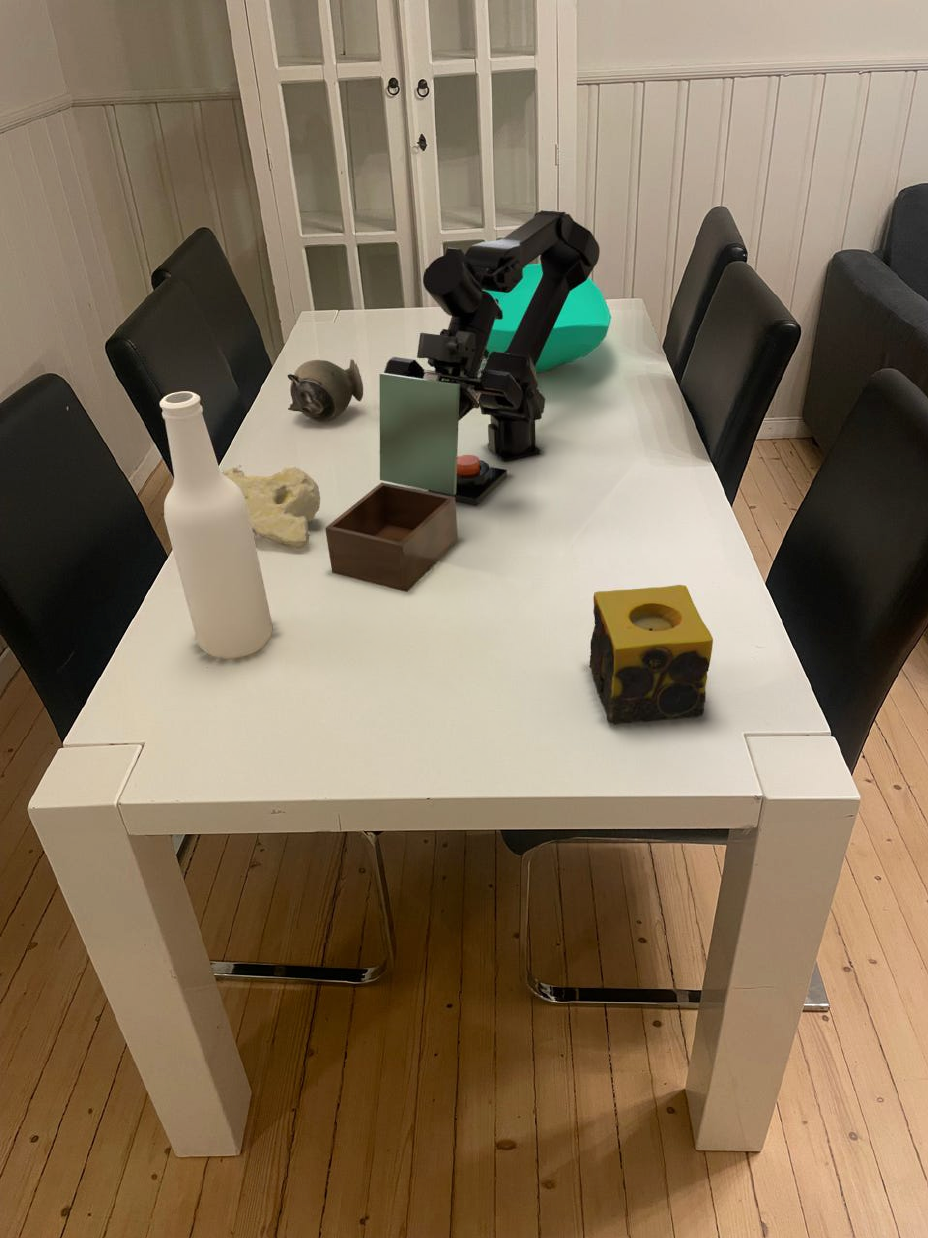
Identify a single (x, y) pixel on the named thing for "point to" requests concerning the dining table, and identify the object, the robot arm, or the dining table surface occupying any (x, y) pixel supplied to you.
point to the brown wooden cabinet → (392, 536)
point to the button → (467, 465)
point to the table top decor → (574, 326)
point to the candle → (649, 654)
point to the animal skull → (279, 503)
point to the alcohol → (212, 539)
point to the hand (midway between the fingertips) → (434, 441)
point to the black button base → (477, 484)
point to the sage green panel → (419, 432)
